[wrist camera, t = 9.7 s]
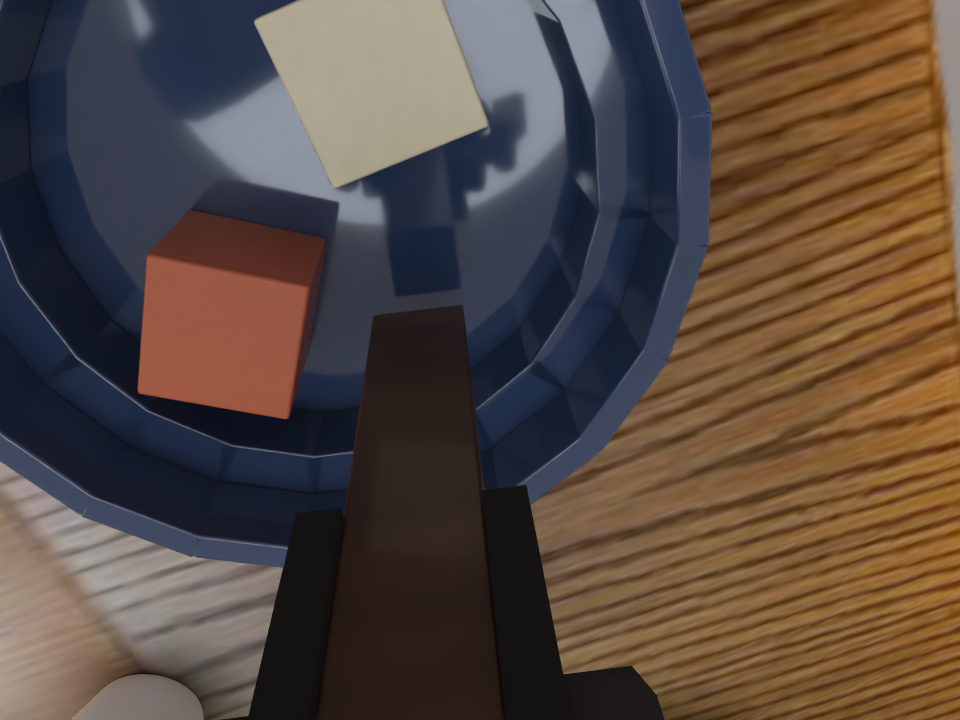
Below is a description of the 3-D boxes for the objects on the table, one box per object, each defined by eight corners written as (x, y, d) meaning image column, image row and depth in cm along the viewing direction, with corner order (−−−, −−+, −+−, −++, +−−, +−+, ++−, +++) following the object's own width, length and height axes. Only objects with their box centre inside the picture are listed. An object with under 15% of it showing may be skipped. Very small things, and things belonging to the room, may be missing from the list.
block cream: (281, 10, 21) (251, 20, 17) (423, -53, 20) (423, -56, 17) (347, 153, 22) (333, 190, 19) (479, 99, 22) (490, 126, 18)
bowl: (-175, -189, 19) (-413, -249, 13) (641, -284, 19) (727, -381, 14) (93, 483, 28) (15, 607, 22) (649, 414, 28) (702, 521, 23)
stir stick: (372, 314, 21) (197, 1481, 5) (462, 303, 21) (588, 1431, 5) (386, 393, 22) (282, 1562, 6) (472, 382, 22) (601, 1519, 6)
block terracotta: (189, 207, 23) (145, 253, 19) (327, 237, 23) (310, 287, 20) (177, 331, 24) (136, 394, 21) (307, 356, 25) (288, 421, 22)
